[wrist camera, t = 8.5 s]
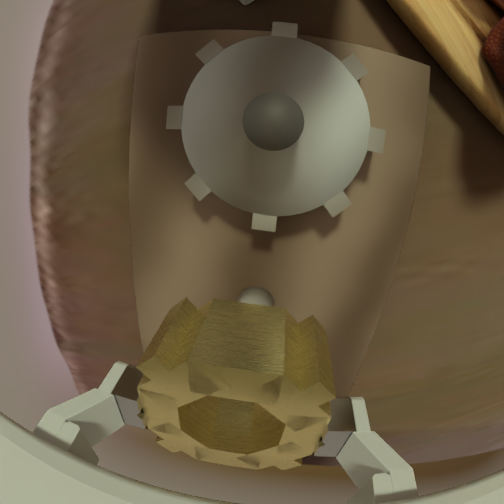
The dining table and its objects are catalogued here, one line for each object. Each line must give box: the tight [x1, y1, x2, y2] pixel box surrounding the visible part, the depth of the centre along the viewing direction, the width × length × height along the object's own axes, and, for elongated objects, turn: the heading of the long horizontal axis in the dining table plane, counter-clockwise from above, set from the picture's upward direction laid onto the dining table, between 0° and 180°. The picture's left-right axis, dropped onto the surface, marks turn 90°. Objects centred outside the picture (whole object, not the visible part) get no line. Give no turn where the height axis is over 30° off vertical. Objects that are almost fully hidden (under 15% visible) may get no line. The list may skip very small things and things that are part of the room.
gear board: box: [129, 21, 430, 397], centre depth 15 cm, size 14×27×5 cm, turn 174°
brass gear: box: [136, 297, 336, 470], centre depth 10 cm, size 6×6×3 cm
